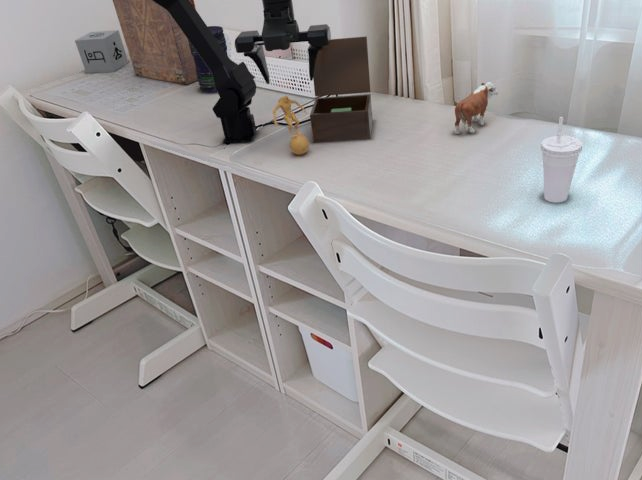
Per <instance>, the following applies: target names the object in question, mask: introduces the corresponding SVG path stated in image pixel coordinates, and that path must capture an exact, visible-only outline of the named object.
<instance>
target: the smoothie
mask: <svg viewBox="0 0 642 480" xmlns="http://www.w3.org/2000/svg"><path fill="white" fill-rule="evenodd" d="M563 122H564V116H559V118H558V128H557V135H553V136H548V137H546V138H544V139H543V140H542V141H541V142H540V152H542V168H543V169H542V171H543V172H542V173H543V198H544V200H545V201H547V202H549V203H555V204H557V203H558V204H559V203H563V202H566V201H567V200H568V198H569V197H568V196H569V194H570V193H569V192H570V189H571V185H572V181H573V178H574V175H575V170H576V166H577V163H578V159H579V155H580V154H581V153H582V152H583V146H584V145H583V142H582V141H581V139H579V138H577V137H574V136H570V135H562V133H563V132H562V131H563Z"/></svg>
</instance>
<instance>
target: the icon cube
mask: <svg viewBox="0 0 642 480" xmlns="http://www.w3.org/2000/svg"><path fill="white" fill-rule="evenodd" d="M74 43H75V45H76V48H77V51H78V53H79V56H80V59H81V63H82V65H83V67H84V71H85V73H86V74H95V73H96V74H97V73H115V72H116V71H118V70H119V69H120V68H122V67H123V66H125V65H126V64H128V63H129V59H128V56H127V53H126V49H125V46H124V44H123V40H122V37H121V33H120V30H119V29H115V30H114V29H113V30H102V31H101V30H100V31H90V32H88V33H86V34H84V35H82V36H80V37H78V38H76V39H75V40H74Z"/></svg>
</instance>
